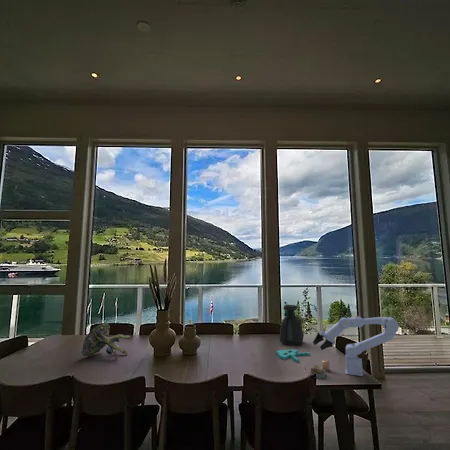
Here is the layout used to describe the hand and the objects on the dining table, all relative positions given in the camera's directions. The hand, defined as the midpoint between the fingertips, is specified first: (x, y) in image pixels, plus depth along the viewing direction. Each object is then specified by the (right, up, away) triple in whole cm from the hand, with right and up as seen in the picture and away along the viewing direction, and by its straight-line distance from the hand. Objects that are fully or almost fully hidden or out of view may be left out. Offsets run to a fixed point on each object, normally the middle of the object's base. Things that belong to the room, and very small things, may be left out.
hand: (317, 346), depth 183 cm
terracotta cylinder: (+4, -13, -3) cm, 14 cm away
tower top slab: (-4, -10, -12) cm, 16 cm away
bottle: (-2, -22, +59) cm, 63 cm away
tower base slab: (-4, -13, -12) cm, 18 cm away
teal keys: (-11, -18, +24) cm, 32 cm away
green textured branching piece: (-142, -19, +27) cm, 145 cm away
